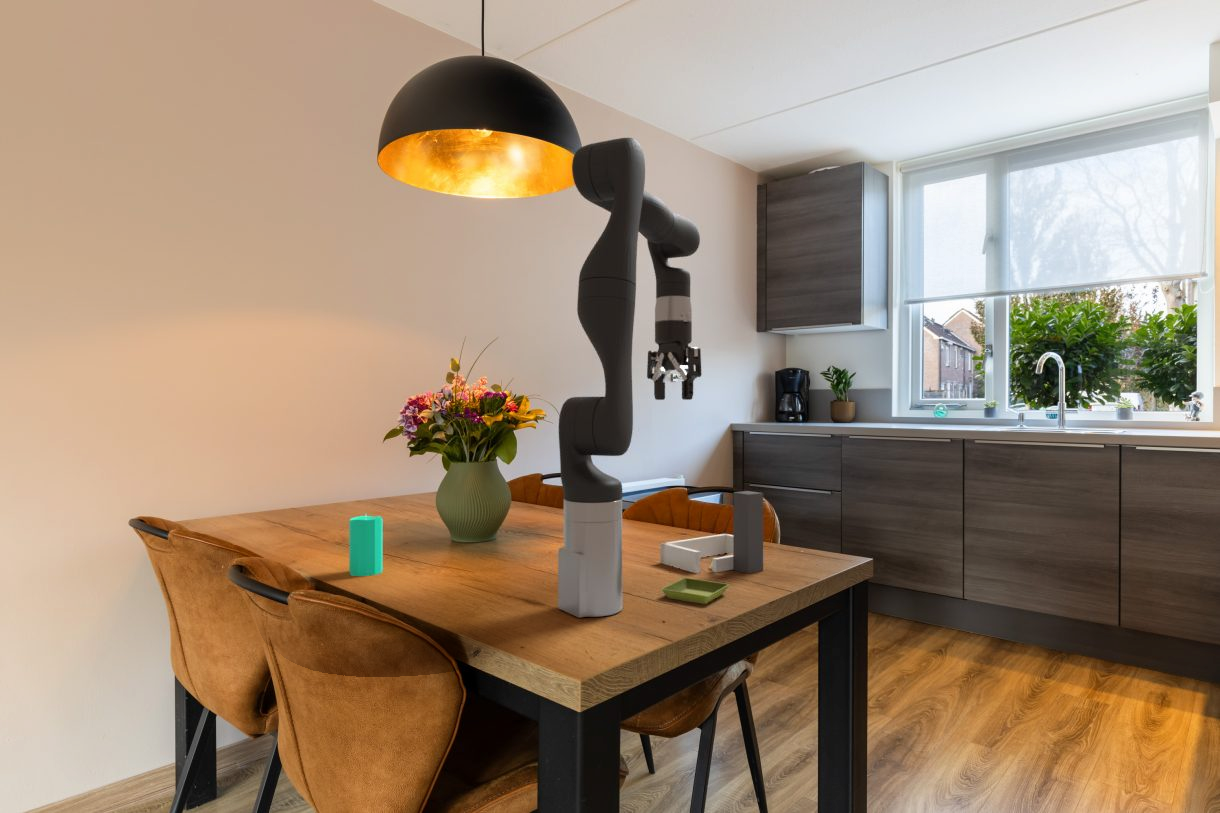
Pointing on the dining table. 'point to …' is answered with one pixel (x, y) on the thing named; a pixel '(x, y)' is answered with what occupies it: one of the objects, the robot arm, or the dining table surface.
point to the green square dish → (694, 590)
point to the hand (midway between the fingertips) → (673, 399)
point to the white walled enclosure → (694, 551)
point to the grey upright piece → (745, 535)
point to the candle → (365, 545)
